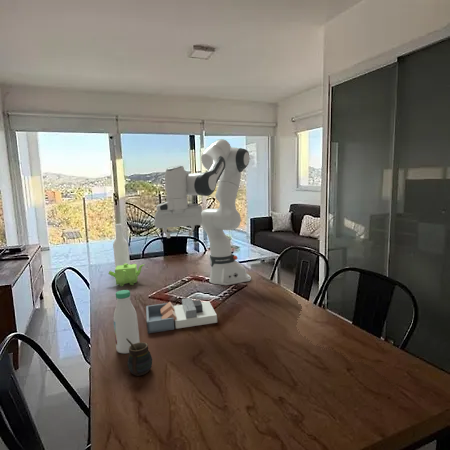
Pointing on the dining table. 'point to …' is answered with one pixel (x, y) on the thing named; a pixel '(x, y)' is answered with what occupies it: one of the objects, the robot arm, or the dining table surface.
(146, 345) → the mate gourd
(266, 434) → the dining table surface
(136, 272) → the kettle
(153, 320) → the tray
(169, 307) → the tile back
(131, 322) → the milk bottle
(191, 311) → the two-tone stepped block
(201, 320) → the board
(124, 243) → the alcohol
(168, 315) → the tile front
